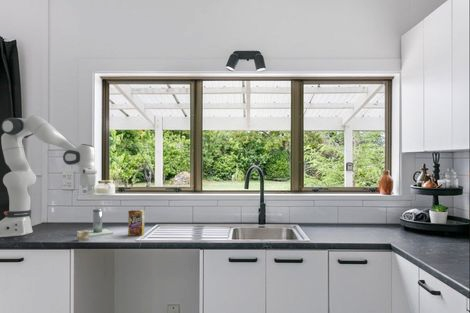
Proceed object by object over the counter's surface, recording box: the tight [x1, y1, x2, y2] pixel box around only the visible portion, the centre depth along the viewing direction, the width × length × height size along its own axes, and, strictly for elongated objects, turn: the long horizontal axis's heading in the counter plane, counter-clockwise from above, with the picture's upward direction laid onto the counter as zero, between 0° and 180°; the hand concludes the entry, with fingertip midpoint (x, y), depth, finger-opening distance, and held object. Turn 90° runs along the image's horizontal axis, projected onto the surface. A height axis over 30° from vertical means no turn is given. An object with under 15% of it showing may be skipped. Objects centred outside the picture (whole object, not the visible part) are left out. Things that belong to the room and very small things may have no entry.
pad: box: [88, 228, 114, 238], centre depth 205 cm, size 14×14×1 cm
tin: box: [92, 208, 103, 233], centre depth 205 cm, size 5×5×14 cm
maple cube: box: [76, 229, 90, 242], centre depth 188 cm, size 5×5×5 cm
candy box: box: [127, 209, 146, 237], centre depth 201 cm, size 9×4×15 cm, turn 84°
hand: (86, 193), depth 201 cm, fingers open, 8 cm apart
